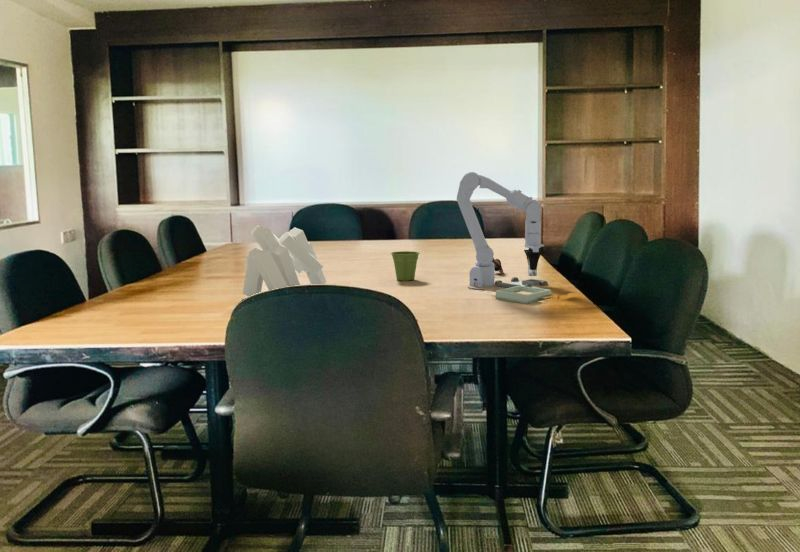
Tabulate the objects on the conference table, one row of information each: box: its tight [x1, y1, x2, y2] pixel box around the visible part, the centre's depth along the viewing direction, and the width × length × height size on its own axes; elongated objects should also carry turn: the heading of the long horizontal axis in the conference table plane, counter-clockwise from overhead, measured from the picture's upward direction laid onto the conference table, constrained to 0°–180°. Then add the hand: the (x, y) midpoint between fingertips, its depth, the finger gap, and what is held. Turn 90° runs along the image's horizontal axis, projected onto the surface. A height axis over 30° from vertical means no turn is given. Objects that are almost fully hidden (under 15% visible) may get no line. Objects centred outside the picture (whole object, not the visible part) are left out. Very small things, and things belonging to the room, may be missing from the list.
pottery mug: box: [492, 257, 505, 276], centre depth 317 cm, size 12×10×8 cm
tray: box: [495, 286, 552, 305], centre depth 259 cm, size 14×14×3 cm
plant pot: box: [390, 250, 420, 282], centre depth 305 cm, size 12×12×11 cm
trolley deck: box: [494, 276, 549, 288], centre depth 279 cm, size 15×15×3 cm
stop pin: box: [527, 258, 538, 277], centre depth 278 cm, size 3×3×7 cm
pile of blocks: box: [242, 224, 327, 297], centre depth 271 cm, size 35×30×35 cm
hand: (532, 269), depth 279 cm, fingers closed on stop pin, 3 cm apart
